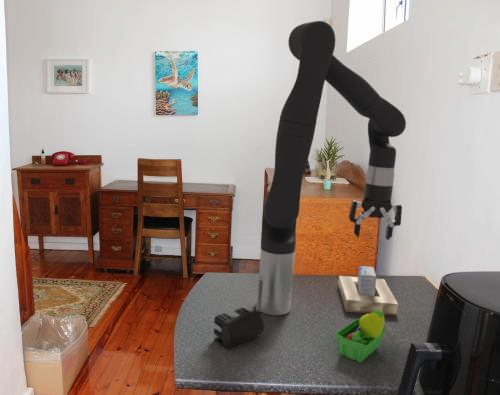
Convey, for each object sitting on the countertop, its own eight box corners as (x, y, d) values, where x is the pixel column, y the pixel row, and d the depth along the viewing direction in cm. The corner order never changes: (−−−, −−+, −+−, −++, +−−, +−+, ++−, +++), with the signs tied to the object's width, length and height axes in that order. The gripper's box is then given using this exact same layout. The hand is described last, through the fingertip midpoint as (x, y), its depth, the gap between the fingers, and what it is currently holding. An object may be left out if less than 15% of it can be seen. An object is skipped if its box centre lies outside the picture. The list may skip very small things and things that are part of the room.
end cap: (229, 354, 102) (231, 326, 101) (211, 340, 108) (213, 314, 106) (263, 341, 108) (265, 315, 107) (244, 329, 114) (246, 304, 112)
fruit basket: (355, 336, 113) (360, 294, 111) (389, 350, 108) (395, 306, 106) (332, 354, 105) (337, 308, 102) (368, 370, 99) (374, 322, 97)
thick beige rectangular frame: (345, 311, 127) (346, 299, 126) (338, 286, 144) (339, 275, 144) (396, 315, 126) (398, 304, 125) (382, 289, 144) (384, 279, 143)
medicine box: (373, 304, 131) (377, 276, 129) (357, 302, 132) (361, 274, 130) (371, 293, 139) (374, 266, 137) (356, 292, 139) (359, 265, 137)
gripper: (355, 182, 125) (349, 239, 128) (408, 186, 124) (400, 243, 127) (351, 178, 132) (345, 232, 135) (401, 182, 131) (394, 236, 135)
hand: (372, 237), depth 131 cm, fingers open, 8 cm apart
